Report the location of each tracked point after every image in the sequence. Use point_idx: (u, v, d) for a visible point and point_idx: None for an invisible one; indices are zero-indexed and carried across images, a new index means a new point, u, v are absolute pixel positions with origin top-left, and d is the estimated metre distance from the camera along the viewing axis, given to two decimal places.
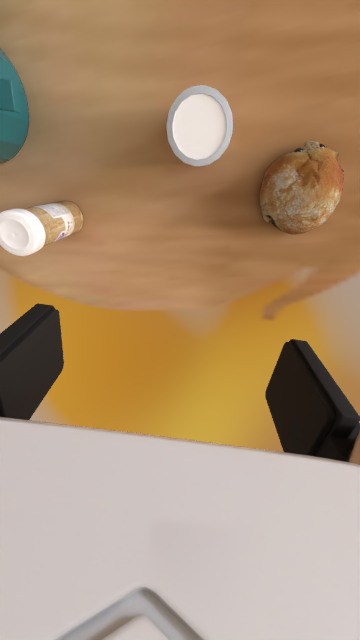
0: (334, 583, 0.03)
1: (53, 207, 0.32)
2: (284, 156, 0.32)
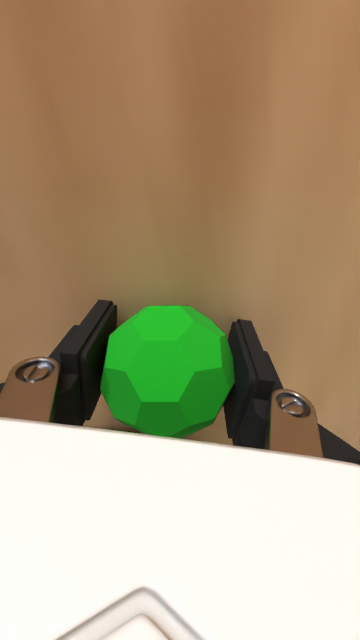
0: (334, 583, 0.03)
1: None
2: None
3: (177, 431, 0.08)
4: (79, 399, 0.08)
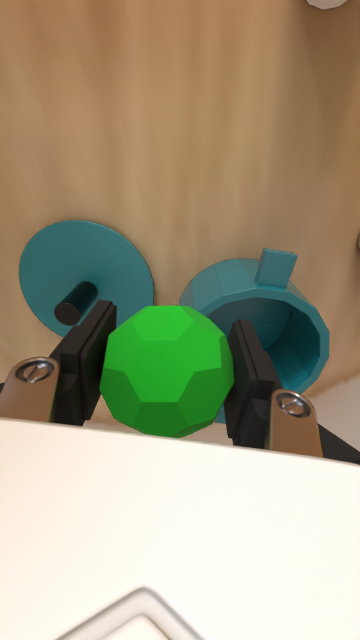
0: (334, 583, 0.03)
1: None
2: None
3: (176, 431, 0.08)
4: (79, 399, 0.08)
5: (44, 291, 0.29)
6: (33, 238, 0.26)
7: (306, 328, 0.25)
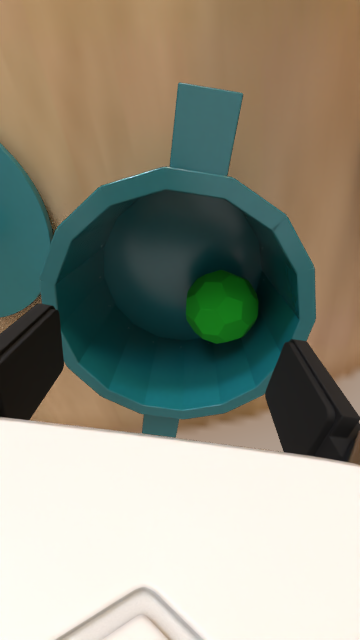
0: (334, 583, 0.03)
1: None
2: None
3: None
4: None
5: None
6: None
7: (279, 276, 0.15)
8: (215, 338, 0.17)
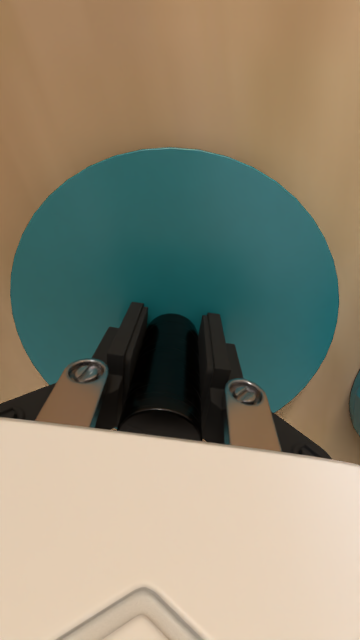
0: (334, 583, 0.03)
1: None
2: None
3: None
4: (121, 399, 0.09)
5: (69, 336, 0.12)
6: (48, 202, 0.10)
7: None
8: None
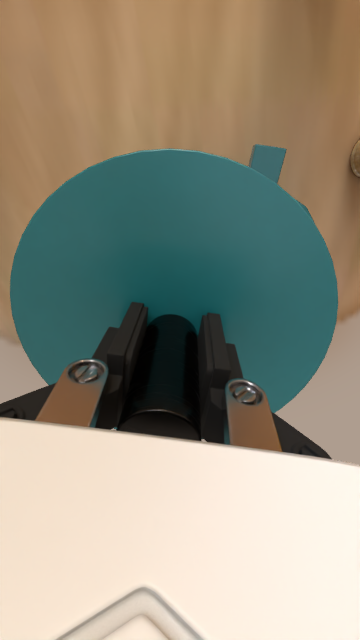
0: (334, 583, 0.03)
1: None
2: None
3: None
4: (121, 399, 0.09)
5: (69, 336, 0.12)
6: (47, 203, 0.10)
7: None
8: None
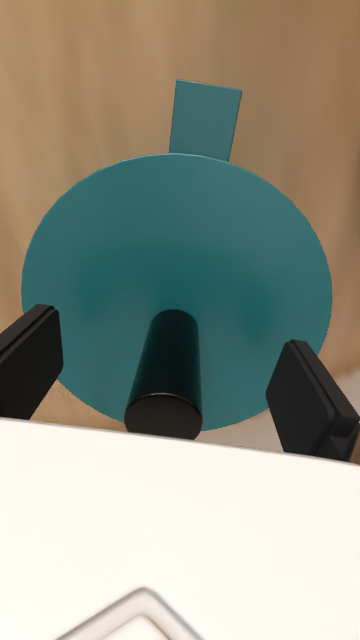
0: (334, 583, 0.03)
1: None
2: None
3: None
4: None
5: (76, 331, 0.13)
6: (58, 204, 0.10)
7: None
8: None
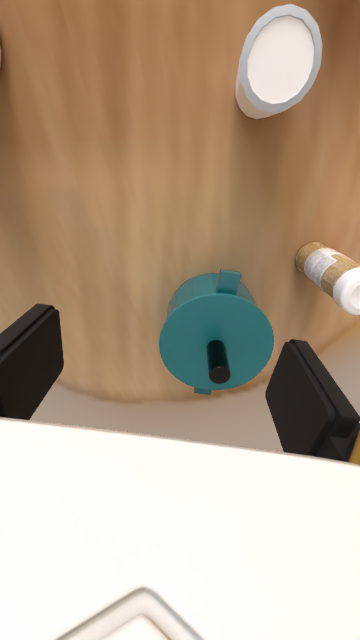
0: (334, 583, 0.03)
1: (317, 262, 0.31)
2: None
3: None
4: None
5: (178, 347, 0.34)
6: (181, 307, 0.31)
7: None
8: None
